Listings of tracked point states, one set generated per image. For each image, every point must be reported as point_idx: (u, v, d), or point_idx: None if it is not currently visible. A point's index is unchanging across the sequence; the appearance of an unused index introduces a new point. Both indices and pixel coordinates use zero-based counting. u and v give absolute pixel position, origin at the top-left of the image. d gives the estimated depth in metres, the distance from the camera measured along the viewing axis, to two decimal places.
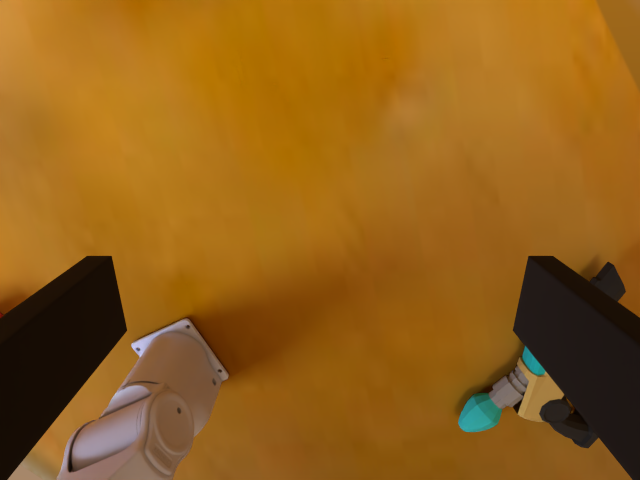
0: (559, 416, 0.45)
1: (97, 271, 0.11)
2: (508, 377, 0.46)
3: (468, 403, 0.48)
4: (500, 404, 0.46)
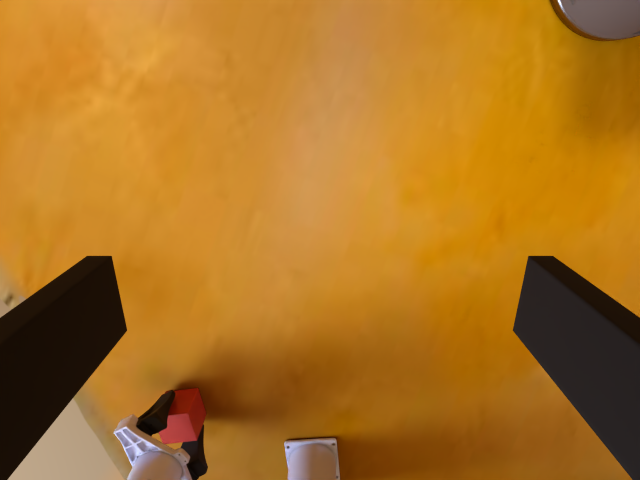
0: None
1: (97, 271, 0.11)
2: None
3: None
4: None
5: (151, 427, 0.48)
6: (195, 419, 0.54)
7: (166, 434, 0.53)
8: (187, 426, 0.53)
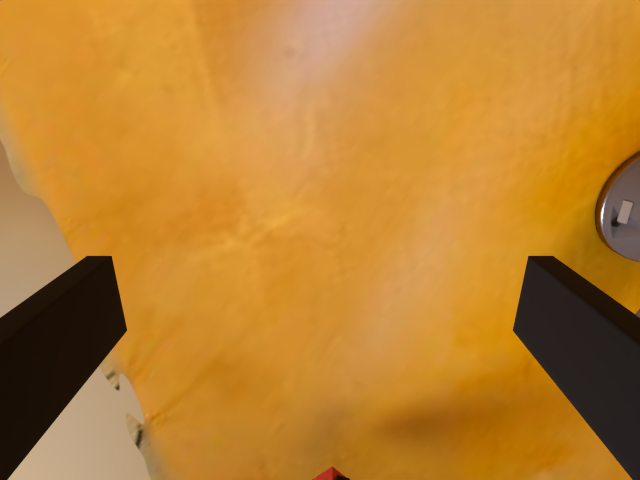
0: None
1: (97, 271, 0.11)
2: None
3: None
4: None
5: None
6: None
7: None
8: None
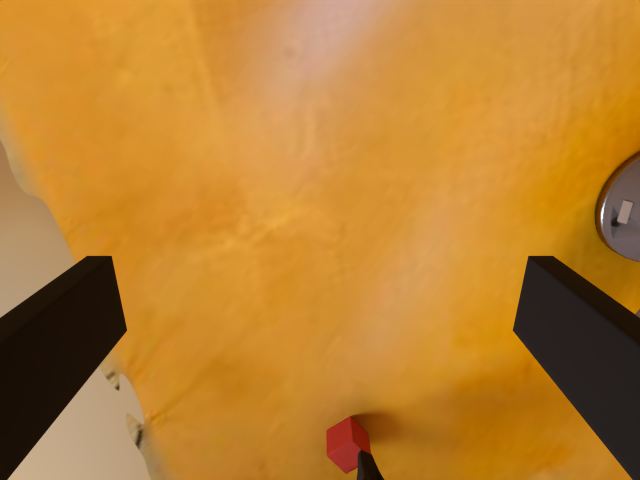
0: None
1: (97, 271, 0.11)
2: None
3: None
4: None
5: None
6: None
7: (339, 454, 0.59)
8: (357, 463, 0.60)
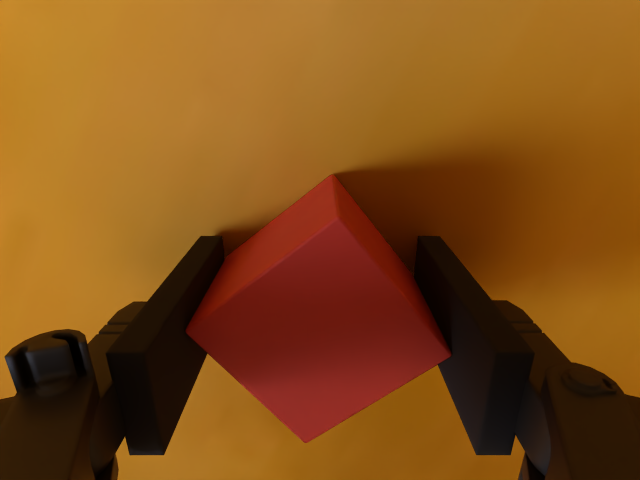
0: None
1: (216, 248, 0.13)
2: None
3: None
4: None
5: None
6: None
7: (260, 322, 0.10)
8: (368, 383, 0.10)
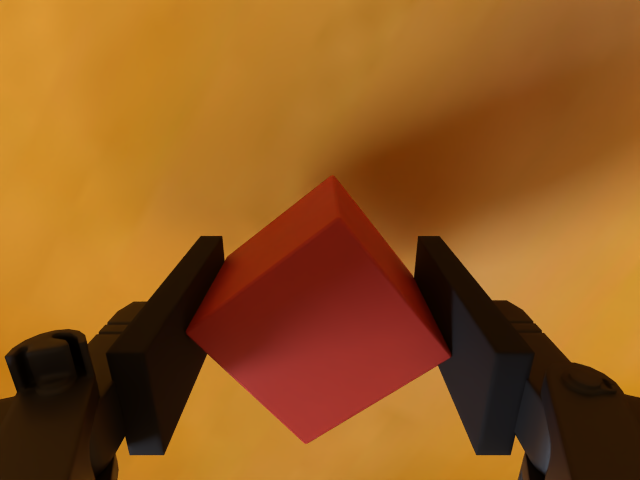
0: None
1: (216, 248, 0.13)
2: None
3: None
4: None
5: None
6: None
7: (260, 323, 0.10)
8: (368, 384, 0.10)
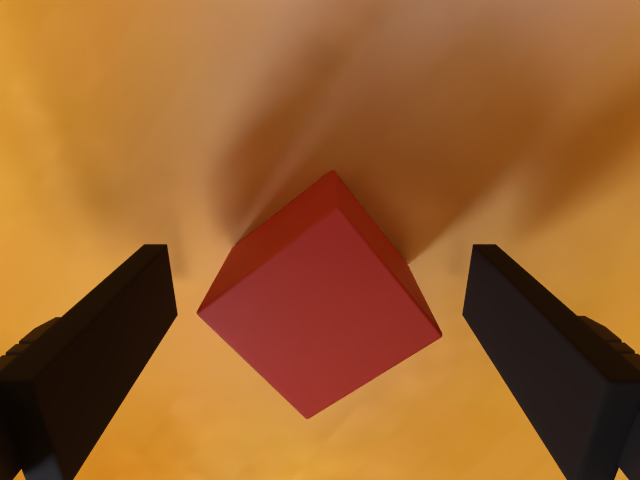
0: None
1: (157, 258, 0.12)
2: None
3: None
4: None
5: None
6: None
7: (265, 304, 0.11)
8: (365, 362, 0.11)
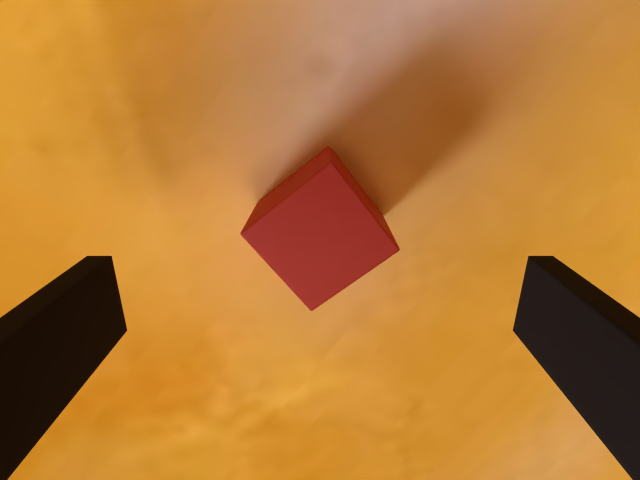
0: None
1: (97, 271, 0.11)
2: None
3: None
4: None
5: None
6: None
7: (285, 227, 0.16)
8: (350, 268, 0.17)
